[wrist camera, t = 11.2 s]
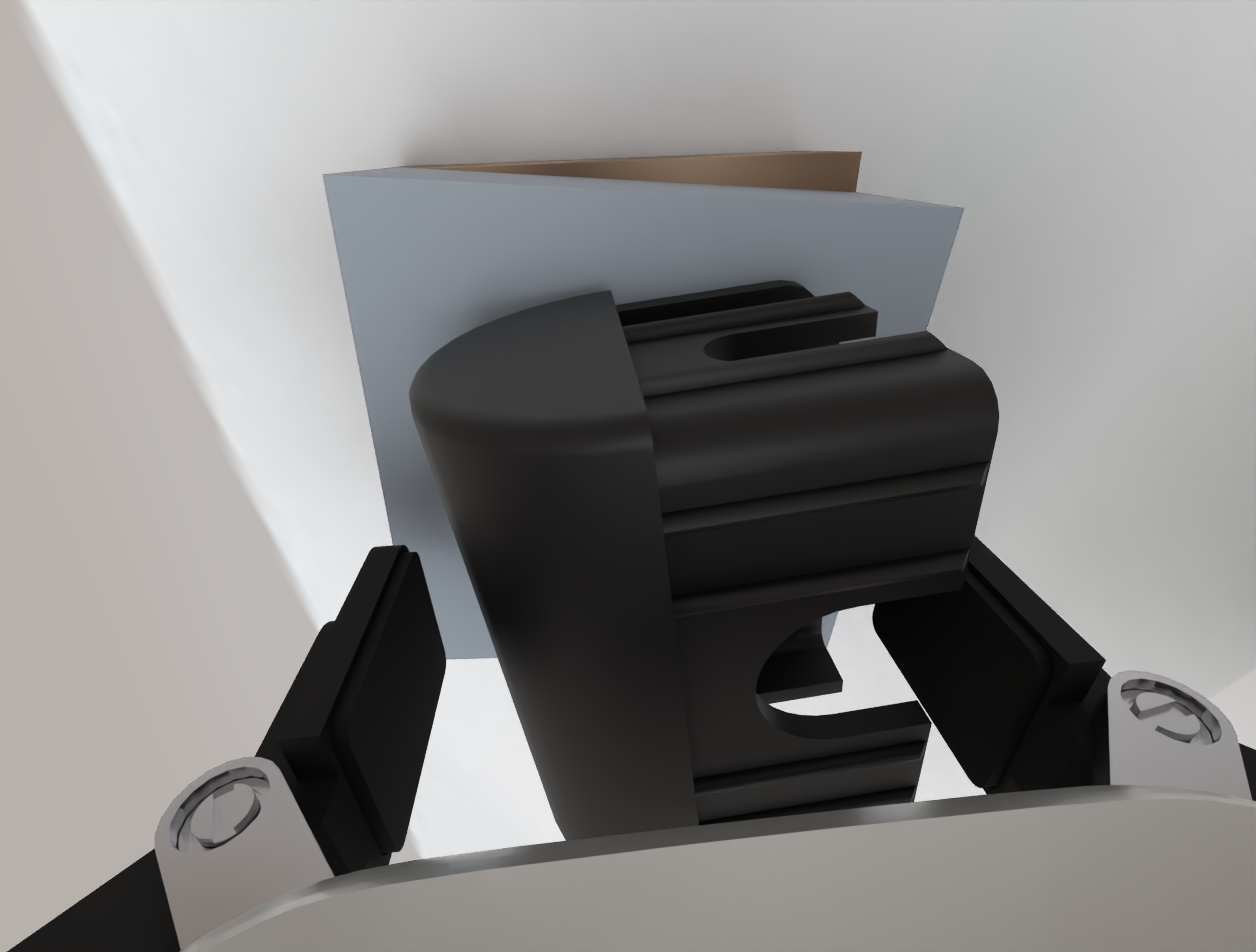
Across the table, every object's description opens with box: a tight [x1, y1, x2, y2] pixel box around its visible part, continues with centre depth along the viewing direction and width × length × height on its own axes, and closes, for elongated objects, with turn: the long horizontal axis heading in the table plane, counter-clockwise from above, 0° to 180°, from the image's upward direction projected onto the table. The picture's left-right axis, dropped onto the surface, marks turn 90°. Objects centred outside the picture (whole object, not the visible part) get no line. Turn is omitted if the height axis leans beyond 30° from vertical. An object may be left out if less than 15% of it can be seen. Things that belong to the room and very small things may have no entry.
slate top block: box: [323, 167, 964, 659], centre depth 16 cm, size 12×12×5 cm
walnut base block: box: [384, 151, 862, 192], centre depth 20 cm, size 13×13×5 cm
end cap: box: [409, 280, 999, 841], centre depth 11 cm, size 10×7×7 cm
